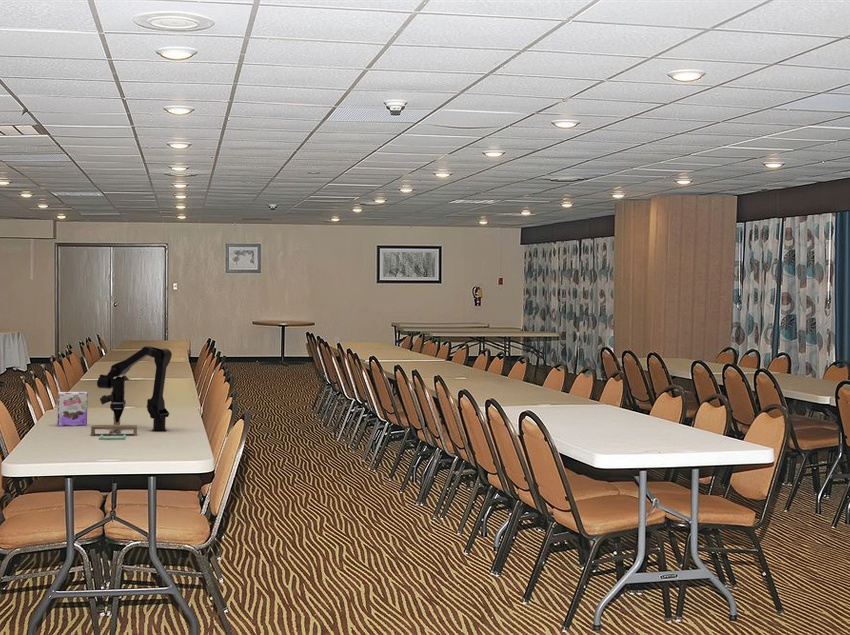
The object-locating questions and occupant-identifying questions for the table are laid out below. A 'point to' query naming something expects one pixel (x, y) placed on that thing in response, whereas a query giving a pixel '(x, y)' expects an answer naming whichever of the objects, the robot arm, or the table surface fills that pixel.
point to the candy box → (72, 409)
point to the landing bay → (112, 438)
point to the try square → (116, 424)
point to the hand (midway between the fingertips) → (117, 421)
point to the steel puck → (114, 433)
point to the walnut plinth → (113, 428)
